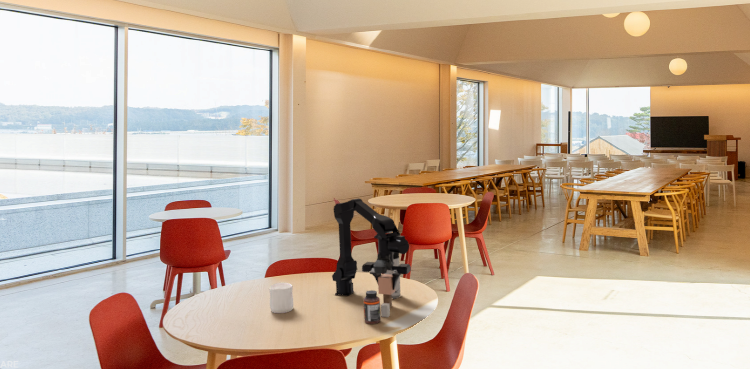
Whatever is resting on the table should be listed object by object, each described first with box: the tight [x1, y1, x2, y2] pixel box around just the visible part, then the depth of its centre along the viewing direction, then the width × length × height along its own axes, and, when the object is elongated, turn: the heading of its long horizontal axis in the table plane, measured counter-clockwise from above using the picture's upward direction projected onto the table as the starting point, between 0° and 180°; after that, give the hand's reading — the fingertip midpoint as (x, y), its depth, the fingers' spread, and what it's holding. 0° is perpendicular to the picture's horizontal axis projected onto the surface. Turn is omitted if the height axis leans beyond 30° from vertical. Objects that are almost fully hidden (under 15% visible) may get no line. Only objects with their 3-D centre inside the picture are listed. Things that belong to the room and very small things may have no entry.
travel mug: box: [385, 252, 401, 300], centre depth 242 cm, size 6×7×20 cm
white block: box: [380, 303, 391, 318], centre depth 219 cm, size 3×3×4 cm
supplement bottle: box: [363, 289, 381, 325], centre depth 213 cm, size 6×6×11 cm
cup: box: [268, 282, 294, 314], centre depth 231 cm, size 10×10×10 cm
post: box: [382, 294, 393, 308], centre depth 230 cm, size 3×3×7 cm
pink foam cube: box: [377, 273, 395, 295], centre depth 229 cm, size 5×5×7 cm
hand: (387, 289), depth 229 cm, fingers closed on pink foam cube, 5 cm apart
